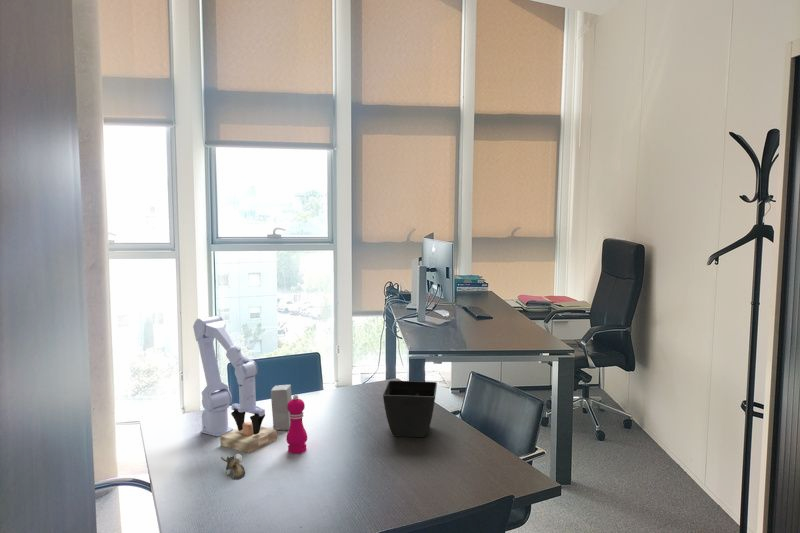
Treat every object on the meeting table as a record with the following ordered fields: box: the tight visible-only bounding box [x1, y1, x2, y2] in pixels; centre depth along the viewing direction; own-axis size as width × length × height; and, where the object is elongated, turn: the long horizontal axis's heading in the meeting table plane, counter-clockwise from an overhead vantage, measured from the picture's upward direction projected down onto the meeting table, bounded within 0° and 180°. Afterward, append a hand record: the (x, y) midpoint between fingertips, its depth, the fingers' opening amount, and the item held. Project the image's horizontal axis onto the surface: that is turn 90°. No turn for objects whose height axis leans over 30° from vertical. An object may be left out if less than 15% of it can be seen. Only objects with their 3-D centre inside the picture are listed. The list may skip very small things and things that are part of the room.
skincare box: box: [270, 384, 293, 431], centre depth 232 cm, size 8×7×16 cm
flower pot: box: [382, 380, 438, 438], centre depth 225 cm, size 19×19×17 cm
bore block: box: [219, 426, 278, 454], centre depth 217 cm, size 14×14×4 cm
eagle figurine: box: [220, 453, 246, 481], centre depth 191 cm, size 8×7×9 cm
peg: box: [243, 421, 253, 437], centre depth 217 cm, size 4×4×6 cm
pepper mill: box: [285, 394, 308, 455], centre depth 209 cm, size 7×7×20 cm
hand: (248, 431), depth 217 cm, fingers open, 7 cm apart
